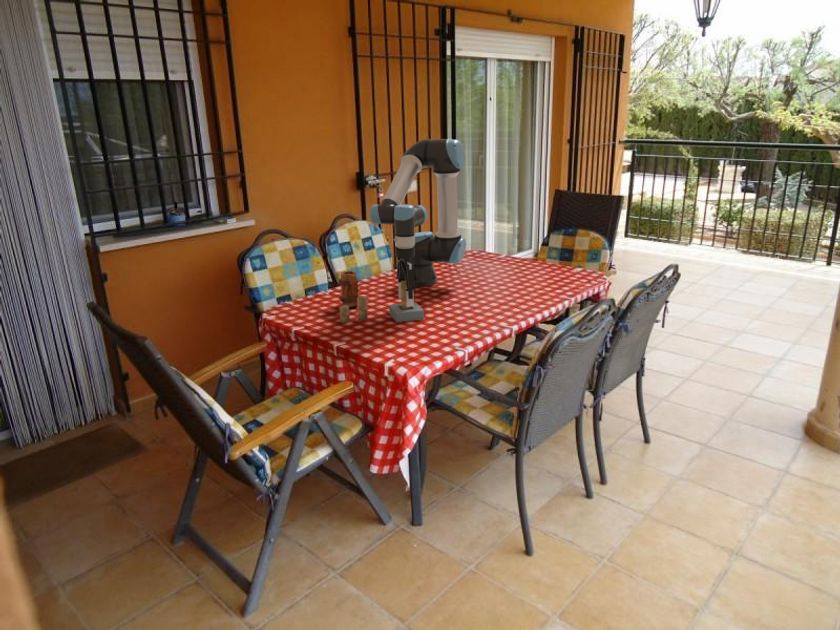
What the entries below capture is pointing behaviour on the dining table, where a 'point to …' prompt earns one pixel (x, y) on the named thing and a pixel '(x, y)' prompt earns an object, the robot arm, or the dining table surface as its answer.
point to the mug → (349, 288)
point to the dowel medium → (362, 308)
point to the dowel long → (403, 296)
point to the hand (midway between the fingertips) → (406, 302)
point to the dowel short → (344, 314)
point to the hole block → (406, 313)
